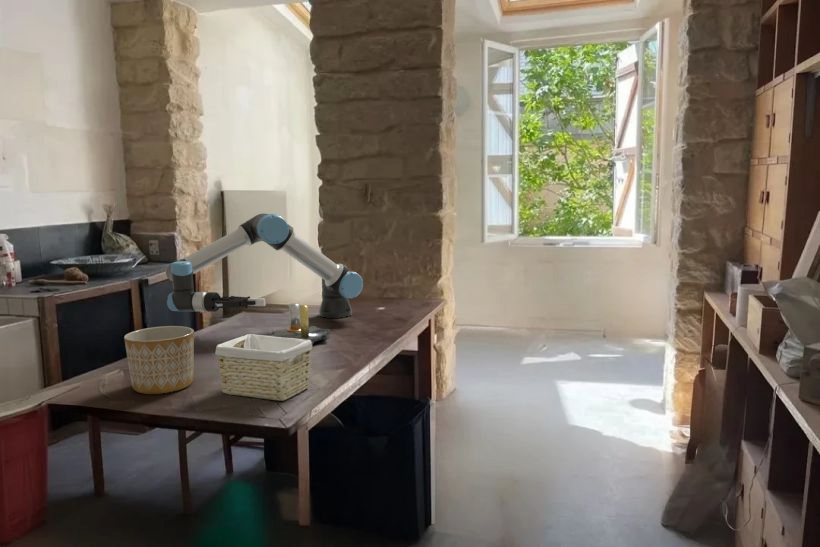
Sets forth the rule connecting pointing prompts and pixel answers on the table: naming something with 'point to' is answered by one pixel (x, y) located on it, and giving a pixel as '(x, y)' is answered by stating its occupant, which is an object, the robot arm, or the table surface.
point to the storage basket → (264, 366)
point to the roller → (294, 316)
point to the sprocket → (304, 329)
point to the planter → (160, 358)
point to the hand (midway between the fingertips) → (264, 302)
